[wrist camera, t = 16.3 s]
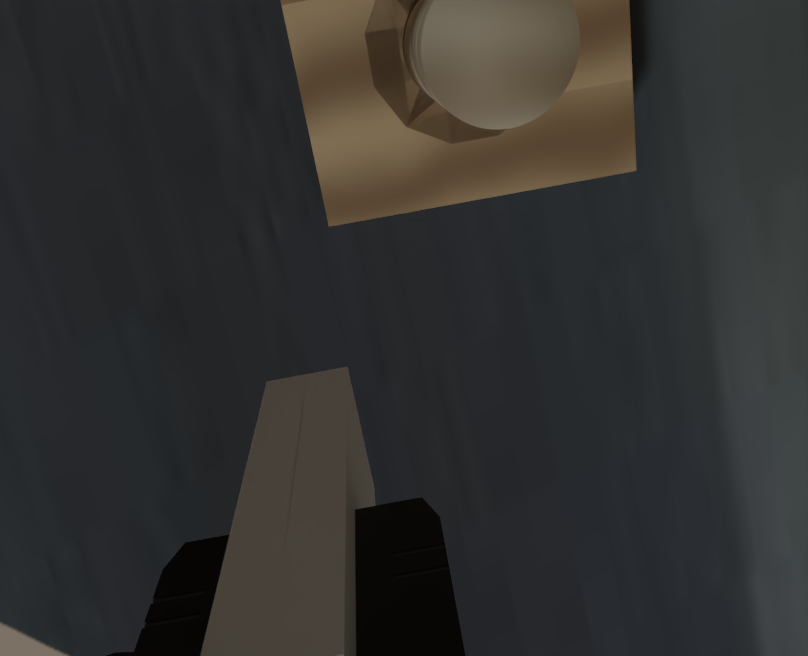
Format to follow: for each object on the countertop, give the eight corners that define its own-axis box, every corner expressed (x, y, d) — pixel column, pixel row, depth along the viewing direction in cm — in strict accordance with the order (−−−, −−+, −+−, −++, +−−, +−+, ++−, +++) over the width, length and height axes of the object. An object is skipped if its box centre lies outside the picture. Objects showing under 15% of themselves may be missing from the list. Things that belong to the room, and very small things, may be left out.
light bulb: (387, -7, 37) (407, -28, 24) (496, -27, 37) (575, -59, 24) (406, 107, 39) (433, 143, 26) (508, 88, 39) (586, 115, 26)
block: (269, -90, 36) (257, -108, 31) (587, -148, 36) (622, -175, 31) (331, 205, 41) (329, 226, 37) (604, 155, 41) (636, 170, 37)
